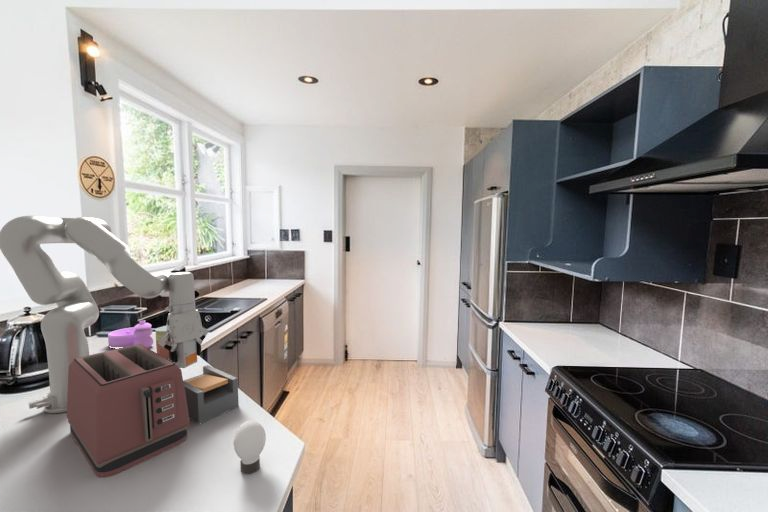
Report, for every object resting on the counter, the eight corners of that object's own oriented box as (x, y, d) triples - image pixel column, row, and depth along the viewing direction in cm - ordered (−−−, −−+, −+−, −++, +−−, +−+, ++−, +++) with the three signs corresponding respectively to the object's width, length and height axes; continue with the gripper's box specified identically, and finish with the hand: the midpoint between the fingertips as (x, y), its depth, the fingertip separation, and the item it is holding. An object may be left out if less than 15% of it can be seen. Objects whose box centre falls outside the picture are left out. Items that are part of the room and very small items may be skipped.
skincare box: (184, 368, 113) (182, 333, 112) (174, 368, 113) (171, 333, 113) (198, 361, 118) (196, 328, 118) (188, 361, 119) (186, 328, 119)
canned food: (191, 352, 151) (189, 326, 151) (164, 360, 142) (162, 332, 141) (178, 347, 157) (177, 322, 157) (151, 355, 148) (150, 328, 147)
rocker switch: (203, 398, 96) (202, 388, 96) (179, 391, 104) (178, 381, 104) (228, 388, 102) (227, 378, 102) (204, 382, 111) (203, 373, 111)
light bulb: (229, 479, 73) (227, 430, 72) (242, 458, 79) (240, 413, 78) (260, 478, 73) (258, 430, 72) (270, 457, 79) (269, 413, 79)
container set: (102, 346, 161) (100, 319, 160) (137, 337, 174) (135, 312, 174) (130, 354, 149) (128, 325, 149) (165, 344, 163) (163, 317, 162)
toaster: (101, 487, 71) (94, 394, 69) (67, 430, 91) (61, 358, 90) (195, 442, 86) (191, 365, 84) (148, 402, 106) (144, 340, 105)
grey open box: (199, 424, 94) (197, 393, 93) (170, 405, 104) (168, 377, 103) (238, 406, 103) (237, 377, 103) (208, 390, 114) (207, 365, 113)
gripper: (159, 314, 105) (162, 369, 106) (213, 304, 119) (216, 352, 121) (149, 311, 109) (153, 364, 111) (203, 302, 124) (205, 348, 125)
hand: (186, 357), depth 116 cm, fingers closed on skincare box, 7 cm apart
